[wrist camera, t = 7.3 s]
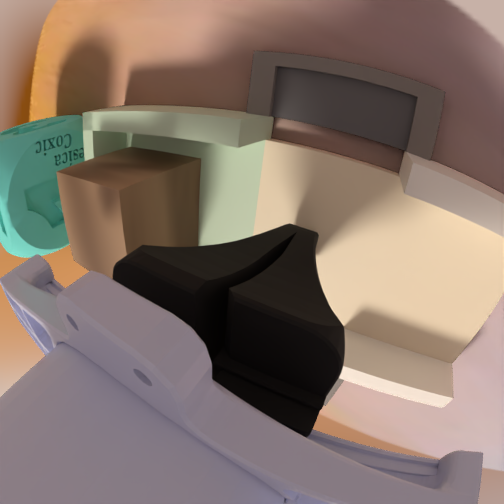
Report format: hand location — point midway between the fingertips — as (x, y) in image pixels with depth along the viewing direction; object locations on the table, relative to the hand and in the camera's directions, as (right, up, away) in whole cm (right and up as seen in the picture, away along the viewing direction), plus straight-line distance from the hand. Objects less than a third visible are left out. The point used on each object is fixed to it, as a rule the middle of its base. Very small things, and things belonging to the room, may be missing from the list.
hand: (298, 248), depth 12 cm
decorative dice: (-15, +7, +6) cm, 18 cm away
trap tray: (0, +1, +1) cm, 1 cm away
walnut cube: (-7, +3, +3) cm, 8 cm away
